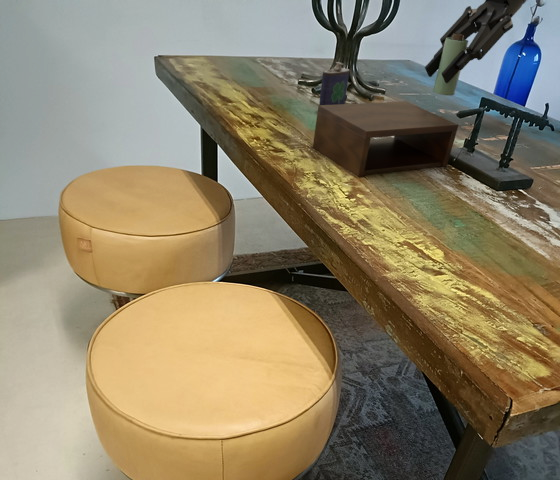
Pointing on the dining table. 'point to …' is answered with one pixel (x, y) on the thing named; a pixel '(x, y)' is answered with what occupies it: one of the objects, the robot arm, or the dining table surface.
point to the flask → (334, 85)
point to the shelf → (383, 123)
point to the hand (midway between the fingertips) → (436, 75)
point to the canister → (448, 55)
